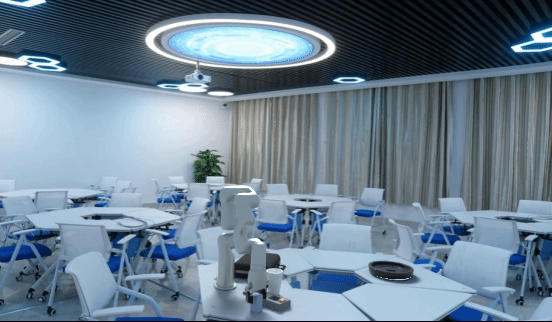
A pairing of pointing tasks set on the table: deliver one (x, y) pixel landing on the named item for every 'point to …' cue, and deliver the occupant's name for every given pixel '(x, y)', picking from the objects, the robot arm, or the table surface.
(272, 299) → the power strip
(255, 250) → the robot arm
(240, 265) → the briefcase
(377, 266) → the round tray
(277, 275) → the foam cup
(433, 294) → the table surface
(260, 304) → the block
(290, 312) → the table surface
